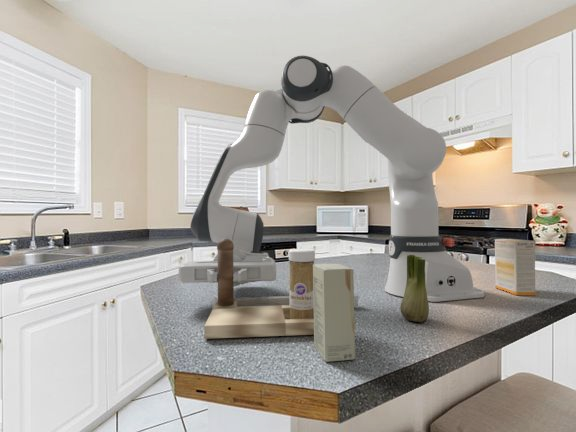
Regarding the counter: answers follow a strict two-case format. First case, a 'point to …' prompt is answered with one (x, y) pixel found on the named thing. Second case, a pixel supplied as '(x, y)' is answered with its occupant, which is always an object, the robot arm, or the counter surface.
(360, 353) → the counter surface
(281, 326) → the wooden peg stand
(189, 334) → the counter surface
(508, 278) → the supplement box
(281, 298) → the rail
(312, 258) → the sprinkles bottle
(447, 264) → the robot arm
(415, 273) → the fennel bulb
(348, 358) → the skincare box
